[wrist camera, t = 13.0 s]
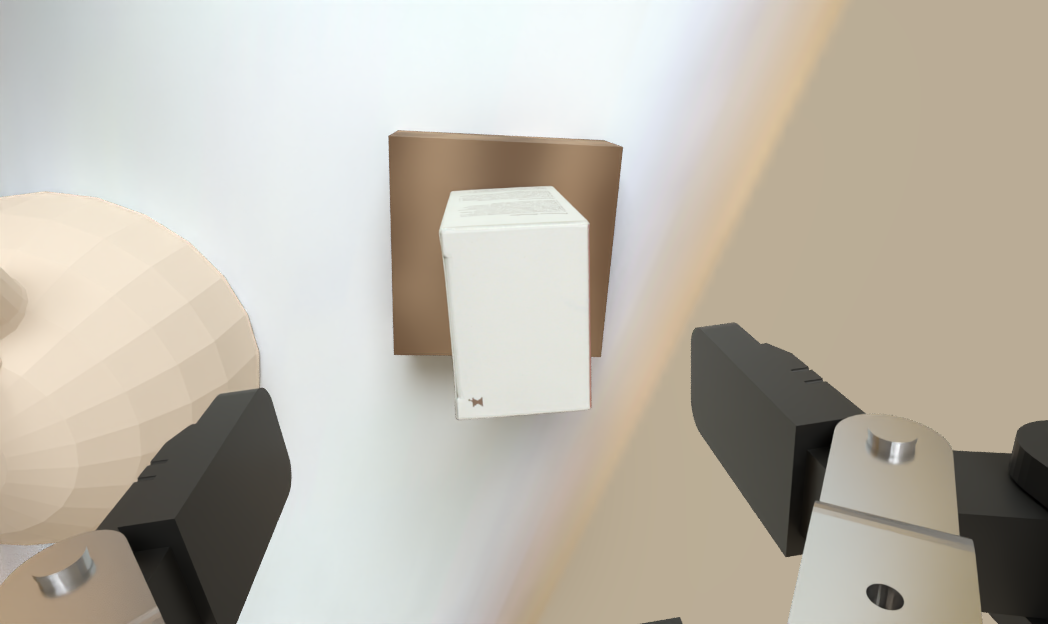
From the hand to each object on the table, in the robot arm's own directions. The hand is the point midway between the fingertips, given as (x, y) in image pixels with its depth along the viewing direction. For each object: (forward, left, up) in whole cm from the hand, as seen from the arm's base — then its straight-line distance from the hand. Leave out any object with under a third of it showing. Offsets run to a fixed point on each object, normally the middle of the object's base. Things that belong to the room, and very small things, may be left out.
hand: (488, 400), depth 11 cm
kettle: (-25, -7, -26) cm, 37 cm away
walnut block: (+1, -3, -26) cm, 27 cm away
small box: (+1, -3, -22) cm, 22 cm away
